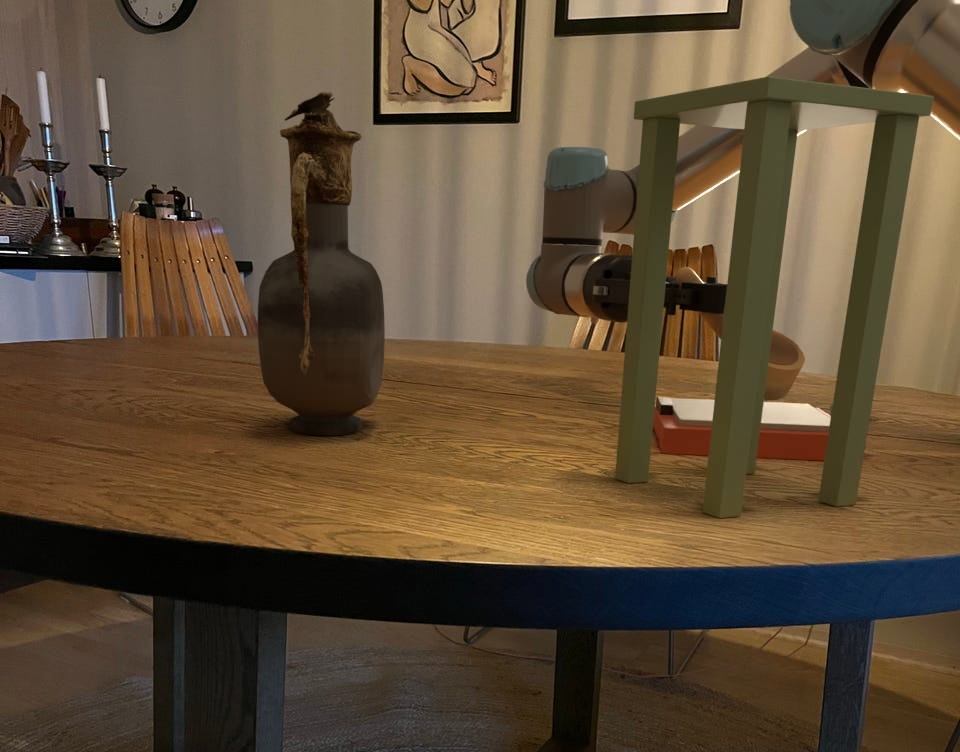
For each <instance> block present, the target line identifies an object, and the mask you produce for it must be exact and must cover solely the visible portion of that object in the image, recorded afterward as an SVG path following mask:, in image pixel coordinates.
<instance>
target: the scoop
mask: <svg viewBox="0 0 960 752" xmlns="http://www.w3.org/2000/svg"><path fill="white" fill-rule="evenodd" d="M674 277H675V282H676V283H679V288H680V289H681V286H682V282H689V283H702V284H704V283H703V282H704V281H703V280H702V279H701V278H700V277H699V276H698V274H697V273H696V272H695V270H693V268H691V267H688V266H684V267H681V268H679V269H677V271H676V272H675V275H674ZM724 309H725V308H724ZM698 313H699V315H700V316H701V317H702V318H703V320H704V321H705V322H706V323H707V325H708V326H709V327H710V328H711V329H712V331H713V332H714V333H715V334H716V336H717V337H718V338H719V339H720V340H721V337H722V328H723V319H724V312H723V314H714V313H706V312H698ZM805 360H806V356H805V353H804V351H803V350H802V348H801V347H800V346H799V345H798V344H797V343H796V342H795V341H794V340H792V339H791V338H790V337H789V336H787V335H785V334H783V333H781V332H779V331H776V330H774V329H773V332H772V340H771V348H770V355H769V363H768V371H767V379H766V387H765V395H764V401H779V400H782V399H784V398H786V396H787V395H788V394H789V392H790V390H791V388H792V386H793V385H794V383H795V381H796V380H797V377H798V376H799V374H800V372H801V370H802V368H803V367H804V364H805Z"/></svg>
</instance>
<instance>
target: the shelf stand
mask: <svg viewBox="0 0 960 752" xmlns="http://www.w3.org/2000/svg"><path fill="white" fill-rule="evenodd" d="M767 76H768V75H767ZM933 98H934V97H933V96H929V95H920V94H912V93H904V92H895V91H887V90H879V89H870V88H862V87H854V86H845V85H837V84H829V83H820V82H812V81H803V80H795V79H787V78H778V77H770V76H768V77H766V76H764V77H758V78H753V79H747V80H742V81H737V82H732V83H731V82H730V83H726V84H721V85H720V84H719V85H715V86H710V87H705V88H700V89H694V90H688V91H684V92H678V93H677V92H676V93H672V94H667V95H661V96H656V97H651V98H646V99H639V100H635V101H634V107H633V120H637V121H642V126H641V138H640V139H641V140H640V151H639V152H640V154H639V163H638V165H639V176H638V189H637V202H636V215H635V228H634V235H633V241H632V254H631V256H632V266H631V279H630V292H629V305H628V318H627V322H626V330H625V331H626V332H625V345H624V359H623V372H622V382H621V383H622V384H621V394H620V395H621V397H620V410H619V423H618V436H617V448H616V459H615V460H616V462H615V473H614V478H615V479H616V480H619V481H621V482H622V483H623V482H624V483H626V484H636V483H637V484H639V483H648V482H649V476H650V475H649V474H650V464H651V454H652V453H651V452H652V442H653V430H654V428H653V420H654V409H655V401H656V398H657V385H658V376H659V375H658V373H659V364H660V363H659V362H660V353H661V352H660V351H661V341H662V340H661V339H662V331H663V330H662V329H663V319H664V309H665V308H664V297H665V286H666V276H667V273H668V263H669V262H668V261H669V252H670V251H669V250H670V239H671V229H672V222H671V218H672V207H673V196H674V185H675V174H676V162H677V151H678V140H679V136H680V127H681V125H690V126H691V125H692V126H695V125H701V126H712V127H723V128H734V129H744V136H743V145H742V154H741V164H740V172H739V173H738V184H737V192H736V199H735V200H736V201H735V208H734V218H733V220H734V221H733V226H732V227H733V228H732V238H731V247H730V256H729V264H728V274H727V282H726V284H727V291H726V300H725V309H724V319H723V328H722V337H721V339H720V347H719V355H718V356H719V357H718V366H717V372H716V373H717V374H716V383H715V394H714V400H715V401H714V410H713V419H712V428H711V437H710V446H709V455H707V465H706V475H705V484H704V485H705V486H704V492H703V493H704V494H703V503H702V510H701V511H702V513H704V514H707V515H710V516H711V517H715V518H717V519H725V518H735V517H742V509H743V503H744V493H745V486H746V478H747V475H754V474H756V473H755V472H756V465H757V450H758V442H759V434H760V427H761V419H762V411H763V403H764V402H765V400H764V395H765V387H766V379H767V371H768V363H769V355H770V348H771V340H772V332H773V330H774V324H775V317H776V316H775V315H776V307H777V299H778V292H779V283H780V276H781V275H780V274H781V267H782V261H783V254H784V253H783V252H784V246H785V245H784V243H785V237H786V236H785V235H786V230H787V229H786V227H787V219H788V213H789V206H790V205H789V204H790V197H791V190H792V189H791V188H792V180H793V173H794V172H793V171H794V165H795V157H796V150H797V141H798V136H797V134H798V131H803V130H806V131H809V130H819V129H828V128H837V127H846V126H853V125H861V124H862V125H863V124H869V123H870V124H871V123H874V129H873V135H872V140H871V148H870V154H869V160H868V168H867V175H866V181H865V188H864V194H863V200H862V206H861V207H862V208H861V212H860V213H861V214H860V222H859V226H858V234H857V239H856V241H857V242H856V248H855V254H854V260H853V261H854V262H853V268H852V274H851V275H852V276H851V280H850V286H849V287H850V288H849V295H848V301H847V306H846V314H845V320H844V327H843V333H842V341H841V347H840V352H839V353H840V354H839V361H838V368H837V374H836V380H835V387H834V392H833V393H834V394H833V400H832V403H833V406H832V413H831V412H830V414H831V420H830V426H829V433H828V440H827V446H826V453H825V459H824V461H823V468H822V473H821V480H820V486H819V493H818V500H817V501H818V502H819V503H824V504H827V505H830V506H833V507H836V508H837V507H848V506H856V505H857V500H858V493H859V487H860V481H861V475H862V469H863V463H864V457H865V450H866V444H867V439H868V432H869V427H870V421H871V414H872V408H873V403H874V396H875V389H876V384H877V377H878V371H879V365H880V358H881V352H882V346H883V340H884V334H885V328H886V322H887V317H888V316H887V315H888V310H889V305H890V304H889V303H890V297H891V291H892V286H893V285H892V284H893V279H894V273H895V267H896V262H897V254H898V250H899V249H898V248H899V243H900V237H901V232H902V224H903V219H904V212H905V206H906V200H907V194H908V188H909V182H910V177H911V176H910V175H911V170H912V163H913V157H914V151H915V144H916V139H917V134H918V127H919V120H920V118H923V117H930V116H932V115H931V110H932V104H933Z"/></svg>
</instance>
